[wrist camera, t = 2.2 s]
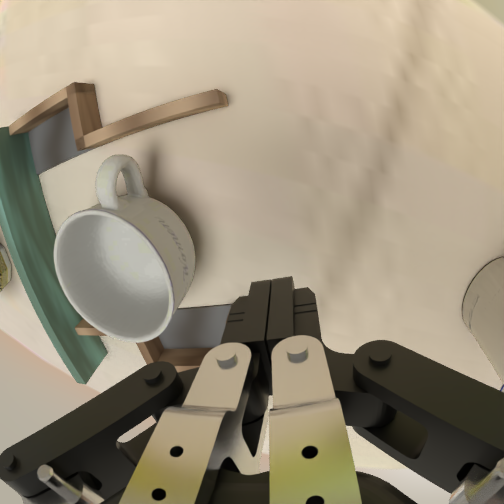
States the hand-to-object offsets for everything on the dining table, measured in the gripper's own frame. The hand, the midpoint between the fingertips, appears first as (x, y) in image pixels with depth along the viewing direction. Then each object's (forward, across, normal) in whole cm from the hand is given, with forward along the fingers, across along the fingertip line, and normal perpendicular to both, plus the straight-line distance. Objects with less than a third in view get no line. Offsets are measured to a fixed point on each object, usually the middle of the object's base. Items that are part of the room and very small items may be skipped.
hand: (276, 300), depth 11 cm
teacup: (+14, +11, 0) cm, 18 cm away
